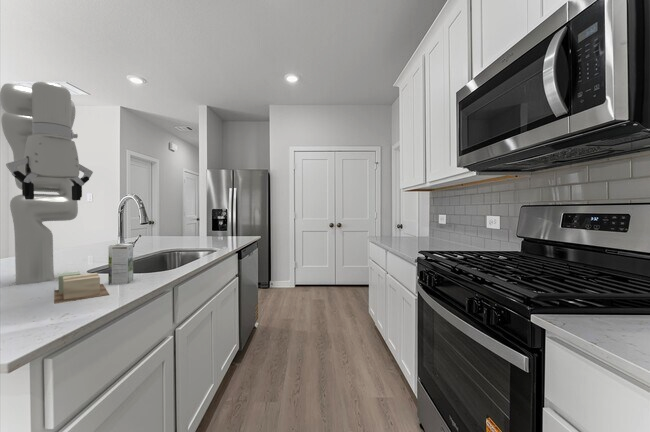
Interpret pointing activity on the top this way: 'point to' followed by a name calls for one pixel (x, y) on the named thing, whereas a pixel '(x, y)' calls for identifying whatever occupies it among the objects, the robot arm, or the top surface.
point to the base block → (81, 285)
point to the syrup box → (120, 264)
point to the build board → (60, 298)
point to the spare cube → (60, 279)
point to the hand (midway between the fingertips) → (54, 199)
